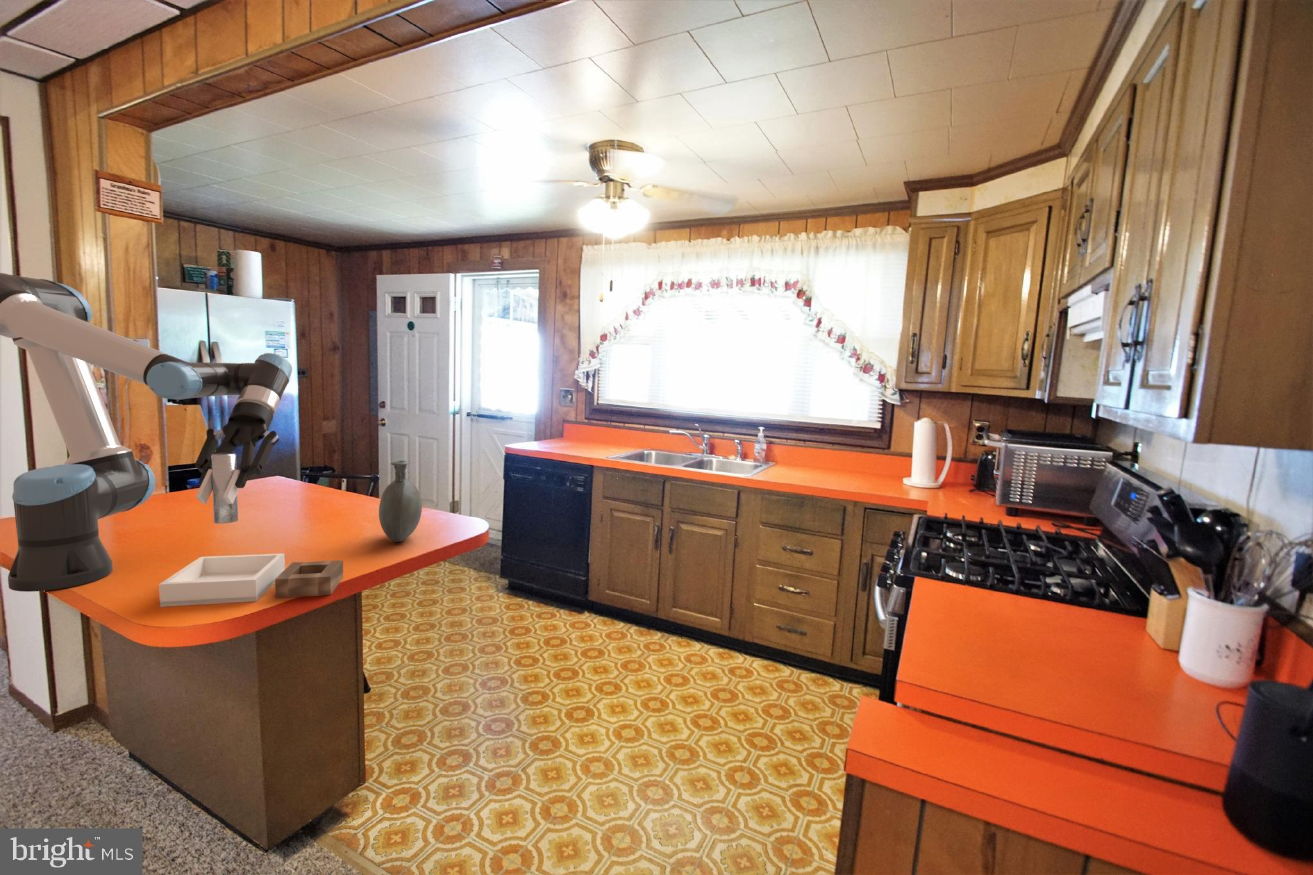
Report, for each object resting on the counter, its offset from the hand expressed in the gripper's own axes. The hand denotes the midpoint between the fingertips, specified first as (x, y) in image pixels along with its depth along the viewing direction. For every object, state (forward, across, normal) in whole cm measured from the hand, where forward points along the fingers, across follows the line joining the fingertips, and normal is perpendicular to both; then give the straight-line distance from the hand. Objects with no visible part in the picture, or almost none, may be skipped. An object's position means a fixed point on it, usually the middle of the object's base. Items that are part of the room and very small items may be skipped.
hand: (214, 500), depth 112 cm
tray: (+11, 0, -17) cm, 20 cm away
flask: (-12, -26, -40) cm, 49 cm away
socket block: (+12, -16, -16) cm, 26 cm away
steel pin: (+1, 0, -6) cm, 6 cm away
